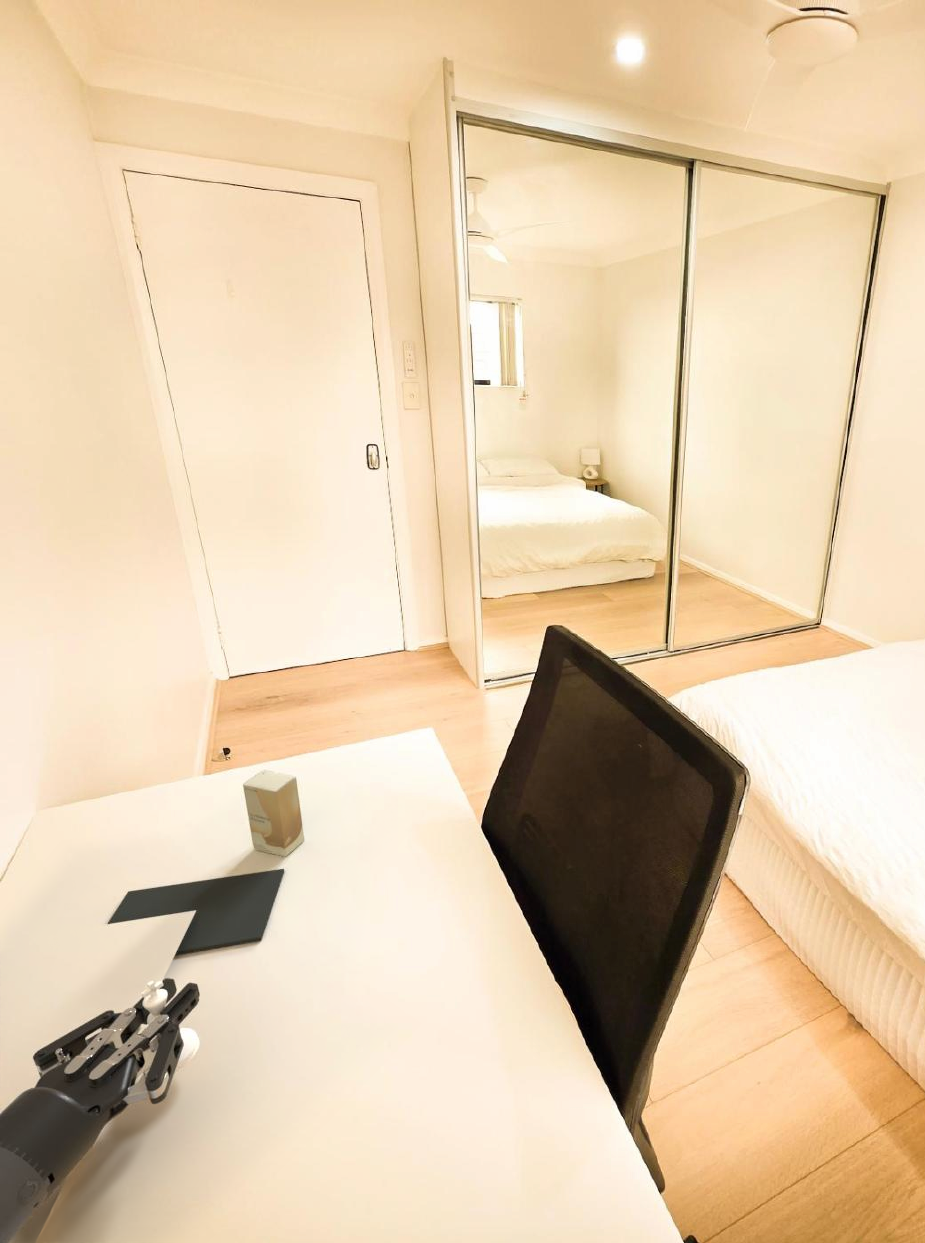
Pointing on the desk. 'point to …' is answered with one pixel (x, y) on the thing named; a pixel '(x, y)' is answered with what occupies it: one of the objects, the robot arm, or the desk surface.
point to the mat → (210, 908)
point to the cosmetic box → (274, 812)
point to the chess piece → (155, 1005)
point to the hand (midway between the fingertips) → (183, 987)
